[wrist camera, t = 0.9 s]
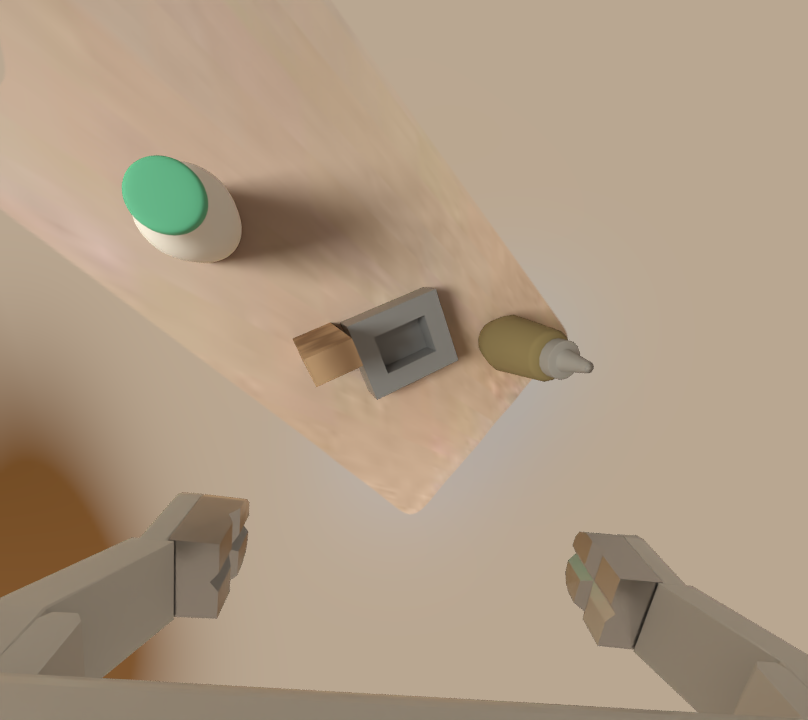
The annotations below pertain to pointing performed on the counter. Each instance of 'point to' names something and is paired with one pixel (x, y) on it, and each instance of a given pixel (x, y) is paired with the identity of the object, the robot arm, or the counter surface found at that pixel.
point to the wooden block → (327, 353)
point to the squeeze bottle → (530, 349)
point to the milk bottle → (182, 209)
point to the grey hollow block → (401, 341)
